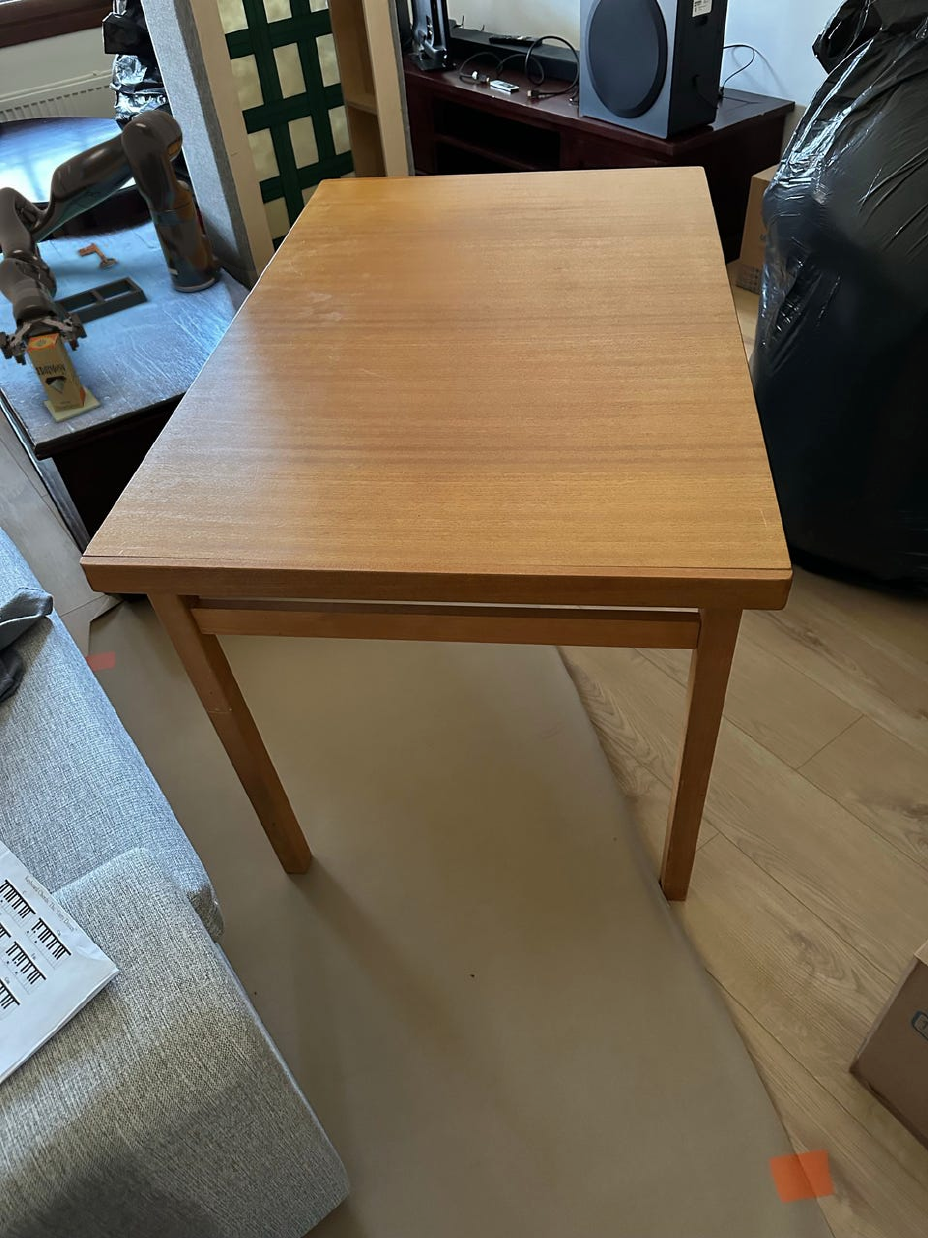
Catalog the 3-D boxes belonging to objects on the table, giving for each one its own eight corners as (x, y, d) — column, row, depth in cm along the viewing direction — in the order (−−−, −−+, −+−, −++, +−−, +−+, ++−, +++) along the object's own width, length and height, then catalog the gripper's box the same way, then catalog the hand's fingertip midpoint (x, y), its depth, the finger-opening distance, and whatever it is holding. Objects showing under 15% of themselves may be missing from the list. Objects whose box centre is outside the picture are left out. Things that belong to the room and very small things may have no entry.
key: (78, 251, 203) (94, 272, 194) (76, 248, 202) (92, 268, 193) (101, 242, 205) (118, 263, 195) (99, 239, 204) (116, 259, 195)
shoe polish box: (83, 407, 153) (55, 346, 144) (55, 412, 152) (26, 351, 143) (85, 393, 156) (58, 333, 147) (58, 397, 156) (29, 337, 147)
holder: (132, 287, 187) (128, 276, 185) (147, 300, 182) (143, 289, 180) (57, 312, 181) (52, 301, 179) (70, 327, 176) (65, 316, 174)
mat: (86, 388, 158) (85, 386, 158) (100, 406, 154) (99, 403, 153) (44, 404, 155) (43, 401, 155) (57, 422, 151) (56, 420, 150)
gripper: (83, 323, 160) (97, 361, 149) (6, 344, 156) (14, 384, 146) (67, 285, 154) (80, 321, 144) (-14, 306, 151) (-6, 344, 140)
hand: (47, 353), depth 145 cm, fingers open, 8 cm apart
